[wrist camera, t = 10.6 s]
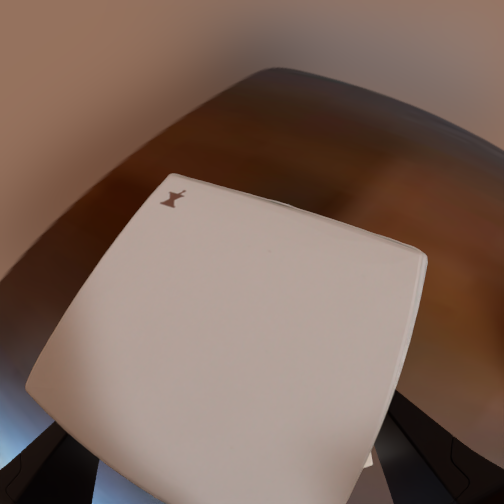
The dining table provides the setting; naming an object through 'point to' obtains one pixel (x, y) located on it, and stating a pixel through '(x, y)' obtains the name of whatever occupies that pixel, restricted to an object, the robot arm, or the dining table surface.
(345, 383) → the supplement box
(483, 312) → the dining table surface
